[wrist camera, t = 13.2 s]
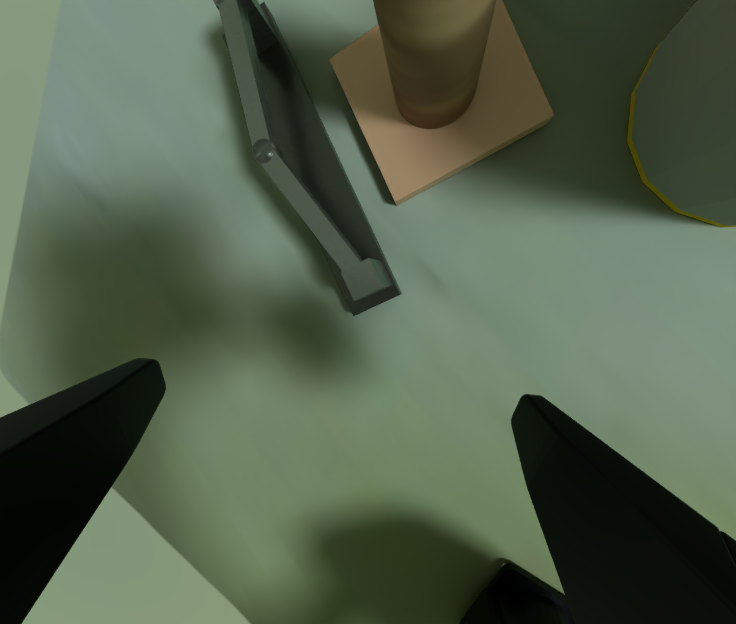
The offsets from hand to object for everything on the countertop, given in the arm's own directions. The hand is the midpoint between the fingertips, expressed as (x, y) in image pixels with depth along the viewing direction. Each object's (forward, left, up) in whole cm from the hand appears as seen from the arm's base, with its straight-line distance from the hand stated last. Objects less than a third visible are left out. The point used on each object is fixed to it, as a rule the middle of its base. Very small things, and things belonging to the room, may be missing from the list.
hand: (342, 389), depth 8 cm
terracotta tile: (+4, -12, -12) cm, 18 cm away
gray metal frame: (+9, -6, -12) cm, 16 cm away
